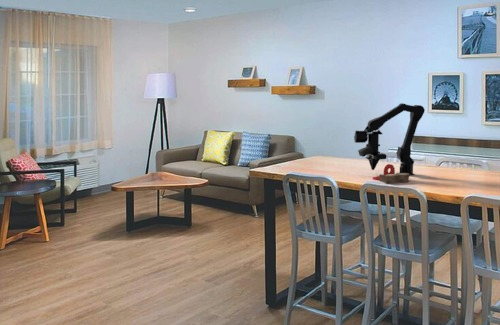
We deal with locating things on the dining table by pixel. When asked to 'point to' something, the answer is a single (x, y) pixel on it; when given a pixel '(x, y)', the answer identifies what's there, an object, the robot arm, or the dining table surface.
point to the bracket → (386, 171)
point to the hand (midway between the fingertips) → (372, 169)
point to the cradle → (395, 178)
